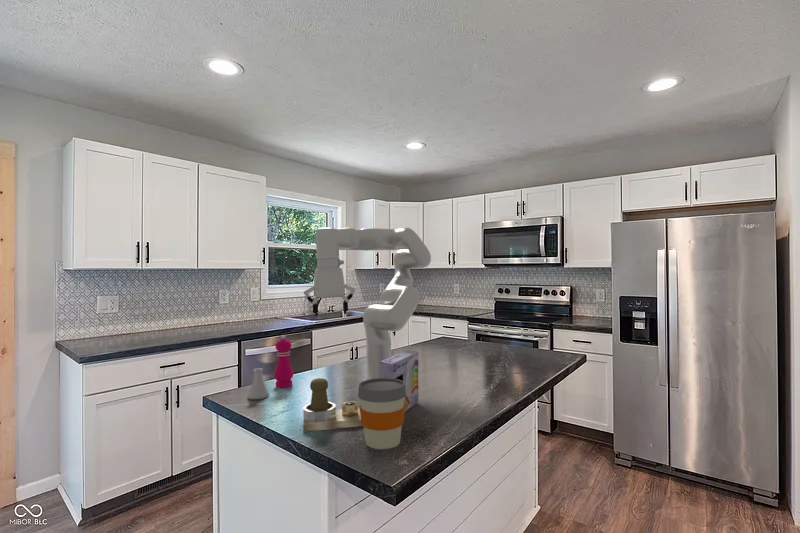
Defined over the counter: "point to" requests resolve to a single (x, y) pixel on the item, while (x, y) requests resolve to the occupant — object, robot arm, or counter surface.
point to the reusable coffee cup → (382, 411)
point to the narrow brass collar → (349, 409)
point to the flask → (258, 386)
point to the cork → (319, 395)
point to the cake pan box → (403, 374)
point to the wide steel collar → (319, 414)
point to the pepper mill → (283, 364)
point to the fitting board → (334, 422)
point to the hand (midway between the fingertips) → (330, 314)
